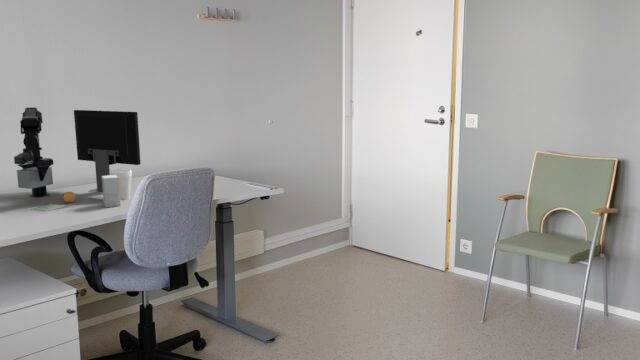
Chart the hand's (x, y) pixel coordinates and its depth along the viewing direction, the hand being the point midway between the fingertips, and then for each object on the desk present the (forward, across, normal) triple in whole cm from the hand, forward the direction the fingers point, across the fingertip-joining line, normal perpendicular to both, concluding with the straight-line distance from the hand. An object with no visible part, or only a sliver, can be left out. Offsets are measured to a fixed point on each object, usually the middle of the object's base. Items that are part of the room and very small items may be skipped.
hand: (35, 180), depth 273 cm
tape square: (+11, +10, -3) cm, 15 cm away
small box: (+11, +32, +13) cm, 36 cm away
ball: (+9, +10, +9) cm, 16 cm away
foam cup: (+11, +26, +26) cm, 38 cm away
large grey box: (+3, 0, 0) cm, 3 cm away
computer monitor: (+11, +8, +35) cm, 38 cm away
